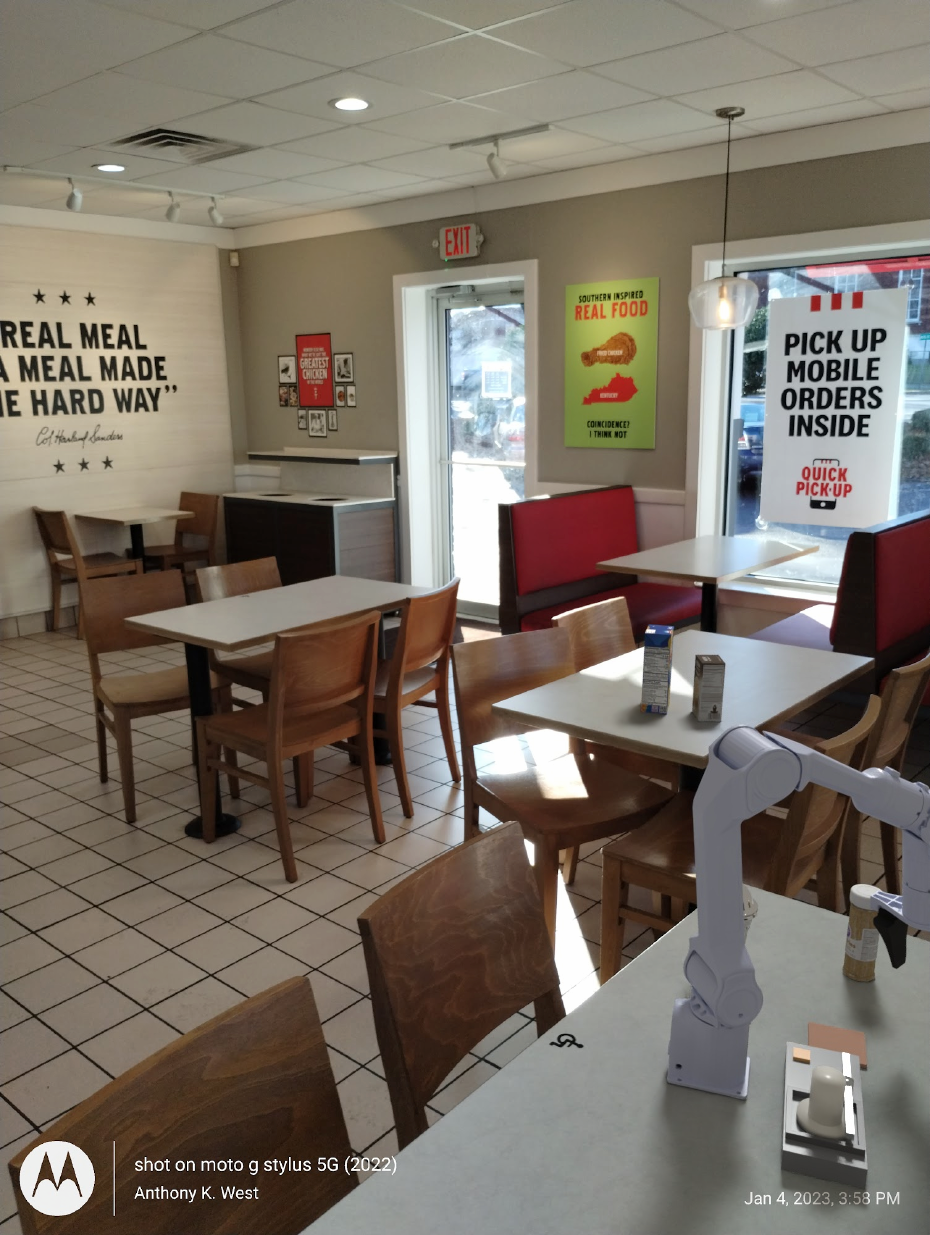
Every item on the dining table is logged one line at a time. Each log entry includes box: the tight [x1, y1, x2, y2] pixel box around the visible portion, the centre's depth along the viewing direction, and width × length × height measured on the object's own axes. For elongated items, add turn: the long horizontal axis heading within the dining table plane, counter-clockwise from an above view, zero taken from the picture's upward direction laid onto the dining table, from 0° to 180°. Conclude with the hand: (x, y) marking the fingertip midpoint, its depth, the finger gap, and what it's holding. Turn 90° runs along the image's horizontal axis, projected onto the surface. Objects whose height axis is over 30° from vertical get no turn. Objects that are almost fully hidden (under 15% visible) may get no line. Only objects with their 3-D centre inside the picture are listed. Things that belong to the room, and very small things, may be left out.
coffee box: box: [691, 654, 726, 722], centre depth 266 cm, size 9×6×16 cm
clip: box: [842, 1052, 854, 1141], centre depth 115 cm, size 1×14×2 cm, turn 162°
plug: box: [796, 1066, 846, 1141], centre depth 112 cm, size 6×6×6 cm
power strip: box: [780, 1041, 869, 1191], centre depth 117 cm, size 9×20×3 cm, turn 161°
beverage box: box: [640, 624, 675, 716], centre depth 272 cm, size 7×11×22 cm, turn 165°
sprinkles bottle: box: [842, 883, 882, 982], centre depth 146 cm, size 5×5×13 cm
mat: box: [807, 1021, 868, 1069], centre depth 130 cm, size 7×7×1 cm
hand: (926, 977), depth 129 cm, fingers open, 7 cm apart
